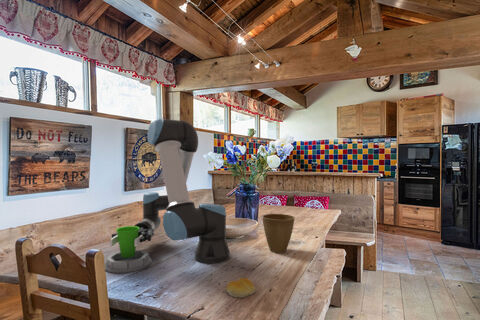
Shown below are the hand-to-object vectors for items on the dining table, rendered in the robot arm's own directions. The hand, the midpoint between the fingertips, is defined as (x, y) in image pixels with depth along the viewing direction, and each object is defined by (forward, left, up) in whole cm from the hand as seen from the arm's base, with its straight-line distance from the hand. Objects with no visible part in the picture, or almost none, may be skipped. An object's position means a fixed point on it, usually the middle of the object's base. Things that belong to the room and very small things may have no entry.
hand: (123, 242), depth 112 cm
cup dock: (+3, -3, -10) cm, 11 cm away
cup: (+3, -3, -7) cm, 8 cm away
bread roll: (-46, -20, -10) cm, 51 cm away
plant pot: (-28, -61, -10) cm, 68 cm away
